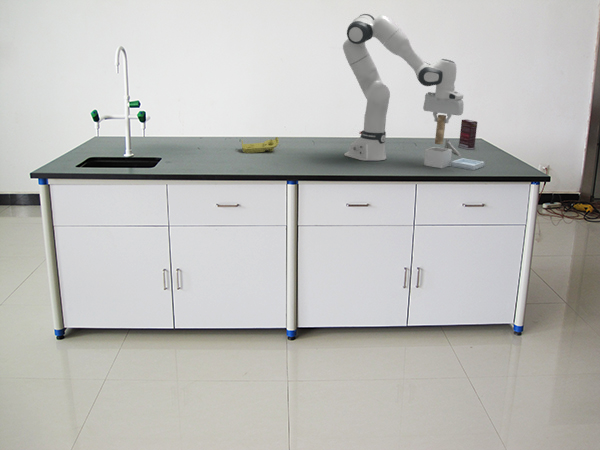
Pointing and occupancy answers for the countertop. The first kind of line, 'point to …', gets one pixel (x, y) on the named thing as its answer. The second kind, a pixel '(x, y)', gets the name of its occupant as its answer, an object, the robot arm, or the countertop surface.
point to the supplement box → (468, 134)
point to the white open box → (438, 157)
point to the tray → (467, 164)
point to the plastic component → (260, 146)
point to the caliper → (451, 147)
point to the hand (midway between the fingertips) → (441, 122)
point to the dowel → (440, 129)
